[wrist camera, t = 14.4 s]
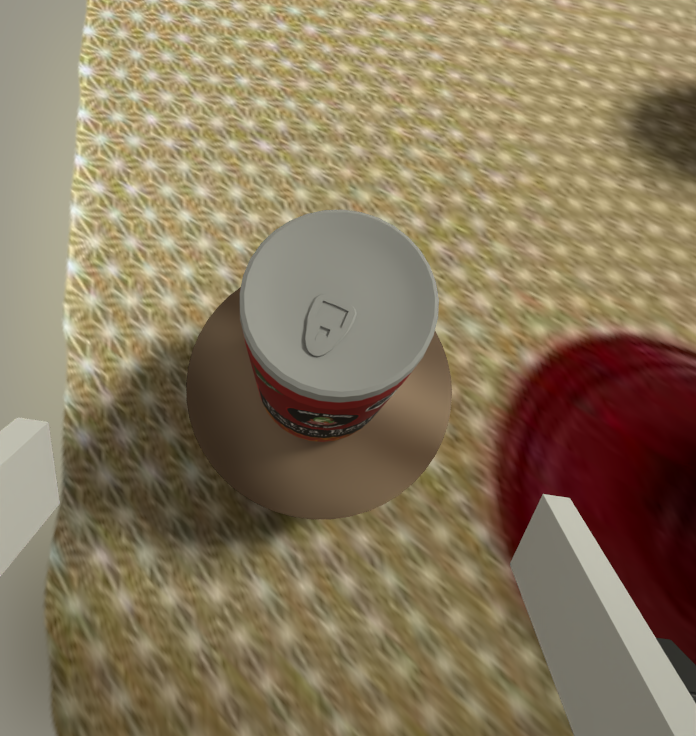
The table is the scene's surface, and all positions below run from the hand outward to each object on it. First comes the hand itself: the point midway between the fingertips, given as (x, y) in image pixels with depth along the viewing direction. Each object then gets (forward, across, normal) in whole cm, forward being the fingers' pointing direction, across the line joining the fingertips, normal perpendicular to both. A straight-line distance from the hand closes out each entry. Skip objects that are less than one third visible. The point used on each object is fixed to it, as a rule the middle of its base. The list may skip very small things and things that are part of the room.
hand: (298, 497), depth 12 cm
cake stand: (+20, 0, -9) cm, 22 cm away
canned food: (+15, 0, -4) cm, 15 cm away
